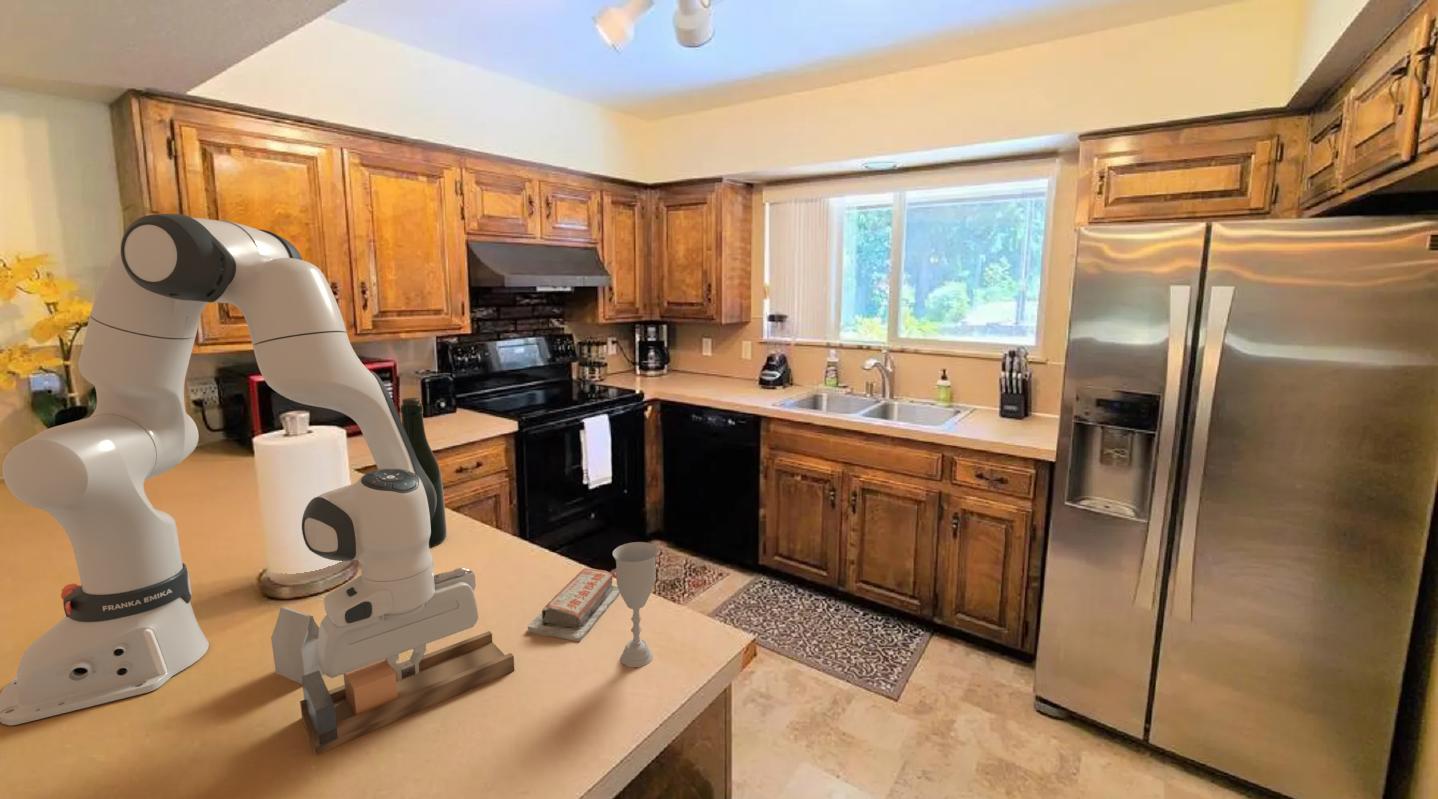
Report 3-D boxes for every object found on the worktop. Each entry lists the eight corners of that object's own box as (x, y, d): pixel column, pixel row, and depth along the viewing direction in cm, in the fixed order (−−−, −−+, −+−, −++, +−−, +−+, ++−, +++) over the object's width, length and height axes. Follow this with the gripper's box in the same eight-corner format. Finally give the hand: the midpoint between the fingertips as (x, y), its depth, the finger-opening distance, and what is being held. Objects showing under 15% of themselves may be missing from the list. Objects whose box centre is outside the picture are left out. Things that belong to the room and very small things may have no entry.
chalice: (638, 676, 94) (637, 566, 91) (604, 661, 98) (602, 554, 94) (667, 653, 100) (667, 548, 97) (634, 639, 104) (633, 538, 100)
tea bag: (305, 685, 91) (298, 623, 89) (275, 673, 93) (267, 612, 92) (329, 671, 94) (323, 610, 92) (300, 660, 97) (293, 601, 95)
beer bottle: (422, 554, 134) (410, 404, 128) (384, 547, 137) (371, 400, 131) (457, 536, 144) (448, 396, 138) (421, 529, 147) (410, 392, 141)
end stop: (319, 746, 78) (315, 710, 77) (305, 709, 84) (301, 676, 83) (337, 738, 79) (334, 703, 78) (322, 703, 86) (318, 670, 85)
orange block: (357, 723, 82) (353, 689, 81) (346, 700, 86) (342, 667, 85) (398, 706, 85) (395, 673, 84) (385, 685, 90) (382, 653, 89)
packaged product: (575, 563, 122) (622, 569, 119) (575, 585, 122) (623, 592, 120) (525, 609, 104) (580, 617, 102) (526, 635, 105) (580, 644, 103)
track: (315, 755, 78) (313, 737, 77) (301, 717, 84) (299, 701, 84) (514, 670, 95) (513, 655, 95) (490, 644, 101) (489, 630, 101)
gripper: (466, 557, 95) (470, 638, 98) (309, 601, 82) (320, 695, 84) (482, 571, 91) (487, 656, 93) (320, 621, 77) (331, 719, 80)
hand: (406, 675), depth 89 cm, fingers closed
